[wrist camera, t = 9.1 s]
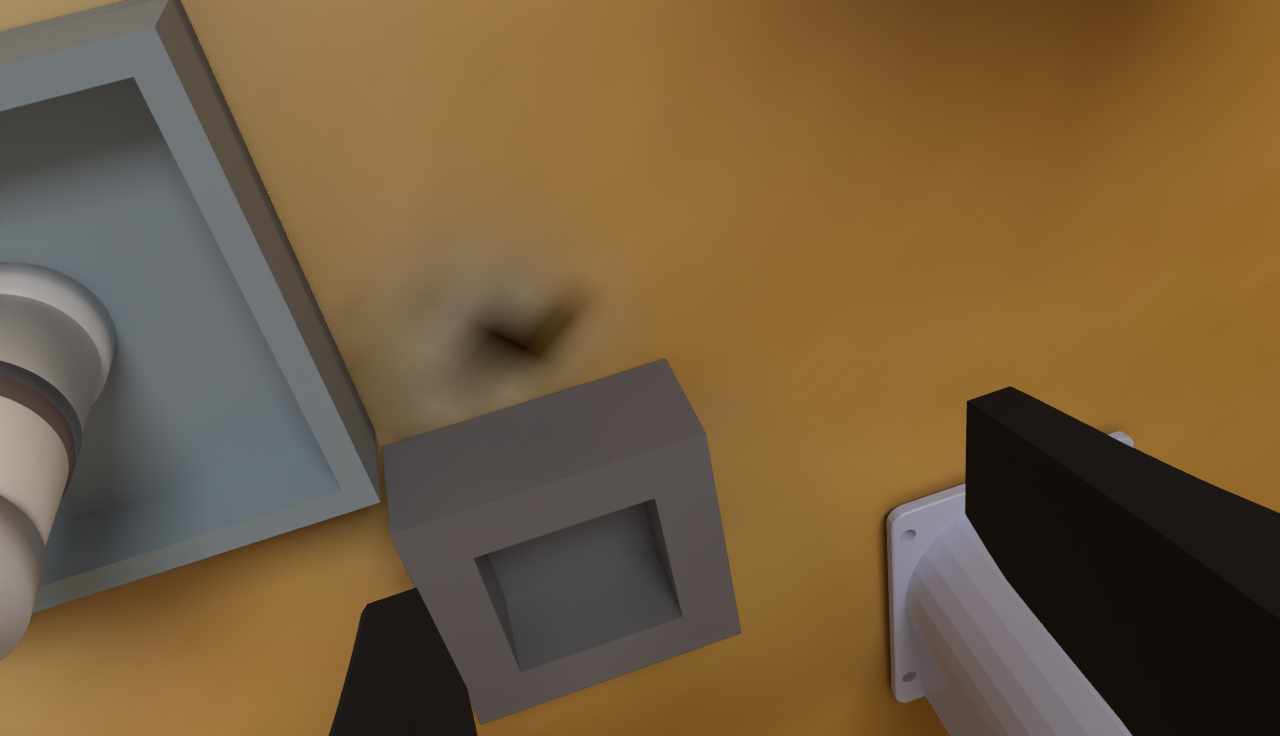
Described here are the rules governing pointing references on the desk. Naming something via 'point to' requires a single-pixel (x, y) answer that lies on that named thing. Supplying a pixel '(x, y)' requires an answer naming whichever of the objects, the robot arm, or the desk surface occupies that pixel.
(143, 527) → the parts tray
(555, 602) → the grey square holder
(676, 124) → the desk surface
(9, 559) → the fuse
